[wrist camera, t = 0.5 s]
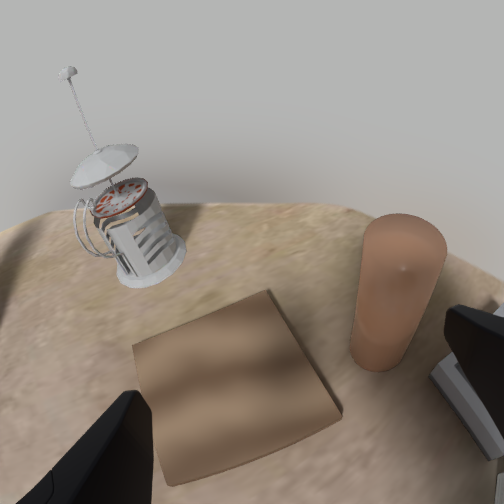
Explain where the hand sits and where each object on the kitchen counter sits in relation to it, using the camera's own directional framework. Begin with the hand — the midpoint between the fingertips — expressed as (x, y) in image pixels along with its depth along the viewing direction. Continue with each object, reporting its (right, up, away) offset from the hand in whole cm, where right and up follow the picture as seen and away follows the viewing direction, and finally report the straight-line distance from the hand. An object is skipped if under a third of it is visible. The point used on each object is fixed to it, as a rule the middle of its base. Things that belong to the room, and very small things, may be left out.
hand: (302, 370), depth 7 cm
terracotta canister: (+9, -5, +16) cm, 19 cm away
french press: (-14, +1, +29) cm, 33 cm away
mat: (-4, -8, +16) cm, 18 cm away
